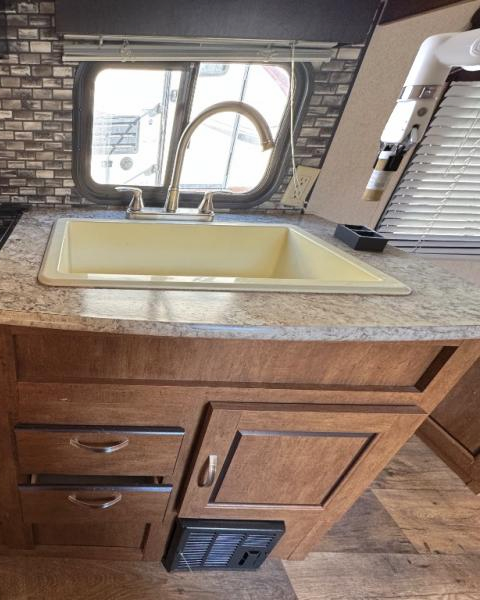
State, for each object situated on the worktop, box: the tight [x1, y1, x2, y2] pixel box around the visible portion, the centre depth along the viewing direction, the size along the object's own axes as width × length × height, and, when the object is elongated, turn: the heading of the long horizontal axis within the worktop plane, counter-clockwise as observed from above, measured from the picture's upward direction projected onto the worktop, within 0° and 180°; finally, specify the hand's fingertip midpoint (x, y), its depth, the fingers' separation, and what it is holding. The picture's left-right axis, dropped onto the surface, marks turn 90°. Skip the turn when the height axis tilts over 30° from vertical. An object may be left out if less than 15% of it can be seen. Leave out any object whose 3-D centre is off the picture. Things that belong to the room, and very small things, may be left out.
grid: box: [332, 222, 390, 253], centre depth 98 cm, size 7×14×4 cm, turn 165°
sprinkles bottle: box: [360, 151, 394, 203], centre depth 92 cm, size 5×5×14 cm
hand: (384, 169), depth 91 cm, fingers closed on sprinkles bottle, 4 cm apart
